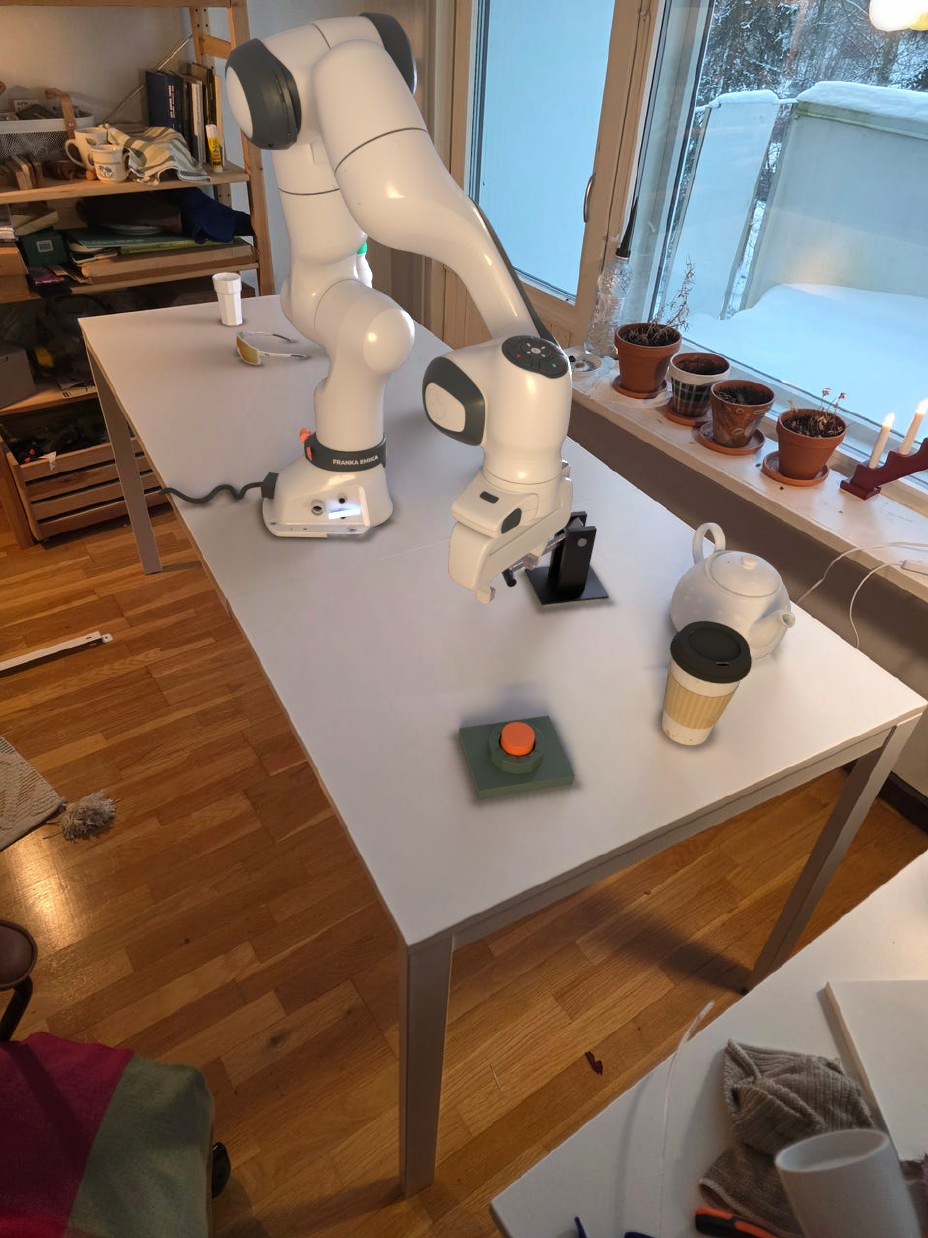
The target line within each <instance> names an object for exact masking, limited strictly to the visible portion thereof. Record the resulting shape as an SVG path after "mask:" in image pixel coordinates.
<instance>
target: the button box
mask: <svg viewBox="0 0 928 1238" xmlns="http://www.w3.org/2000/svg"><path fill="white" fill-rule="evenodd" d="M513 722H520V723H524V724H526V725H528V726H529V727H531V728H532V730H533V731H534V734H535V738H534V744H533V748H532V750H531V752H530V753H528V754H527V755H524V756H513V755H510V754H508V753H507V752H505V751H504V750H503V748H502V746H501V736H502V730H503V728H504V727H505V726H506V725H508V724H510V723H513ZM458 740H459V743H460V746H461V749H462V753H463V755H464V759H465V762H466V765H467V769H468V772H469V776H470V778H471V781H472V784H473V788H474V792H475V794H476V797H477V800H484V799H491V798H496V797H503V796H508V795H514V794H521V793H527V792H532V791H538V790H544V789H551V788H557V787H562V786H568V785H573V784H574V780H575V773H574V770H573V768H572V766H571V764H570V761H569V759H568V757H567V755H566V752H565V750H564V748H563V745H562V743H561V741H560V739H559V737H558V734H557V732H556V729H555V726H554V724H553V723H552V720H551V717H550V715H542V716H536V717H535V716H534V717H529V718H522V719H514V720H507V721H501V722H495V723H488V724H480V725H473V726H468V727H460V728H459V729H458Z"/></svg>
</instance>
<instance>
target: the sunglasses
mask: <svg viewBox="0 0 928 1238" xmlns="http://www.w3.org/2000/svg"><path fill="white" fill-rule="evenodd" d="M235 334H236V350H237V353H238V355H239V356H240V358H241V359H242V361H244V362H245V363H247V364H250V365H254V366H258V365H261V357H266V358H269V357H280V358H281V357H282V358H300V359H301V358H302V359H306V358H307V357H308V355H306V354H299V353H276V352H270V351H263V350H260V349H258V348H256V347H255V346H252V345H251V344H250V343H249V342H248V341H246V339H245V336H253V335H254V336H255V335H262V336H265V337H276V338H279V339H282V340H285V341H287V342H289V343H293V342H294V340H293V339H292V338H289V337H287V336H284V335H283V334H279V333H275V332H268V331H267V332H266V331H255V330H241V329H240V330H237V331H236V333H235Z"/></svg>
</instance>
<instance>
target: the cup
mask: <svg viewBox="0 0 928 1238" xmlns="http://www.w3.org/2000/svg"><path fill="white" fill-rule="evenodd" d="M211 278H212V283H213V289H214V291H215V293H216V296H217V301H218V305H219V306H218V307H219V312H220V317H221V323H222V325H226V326H228V327H229V326H238V325H241V324H243V315H242V313H243V312H242V299H241V291H242V289H243V288H242V276H241V275H240V274H238V273H236V272H227V271H225V272H219V273H215V274H213V275H212V276H211Z"/></svg>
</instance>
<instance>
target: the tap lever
mask: <svg viewBox="0 0 928 1238" xmlns="http://www.w3.org/2000/svg"><path fill="white" fill-rule="evenodd" d="M575 527H584V526H583V524H582V522H581V521H580V519H579V518H576V519H574V520H573V521H571V522H569V523H568V524H567V525H566V526H565V527H564V528H563V529H564V531H565V532H564V533H562V534H561V535H559V536H557V537H555V538H554V537H553V538H552V539H549V542H548V544H547V546H546V548H545V550H544V551H543V553H542V555H541V557H543V556H545V555H546V554H548V553H550V552H552V550H553V549H555V548H557V547H558V546H560V545H562V544H564V542H565V536H566V530H567V528H575ZM522 561H523V557H522V558H521V559H520V560H518V561H517V562H515V563H514V564H513V565H511V566H510V567H508V568H507V569H506V570H504V571H503V572H502V573H501V576H502V577H503V580H504V581H505V585H506V586H507V587H508V588H513V587H515V586H516V585H517V584H518V580H517V578H516V577H515V575H514V573H516V572H517V571H519V570H520V569H522V568H525V567H524V566H523V564H522Z"/></svg>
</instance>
